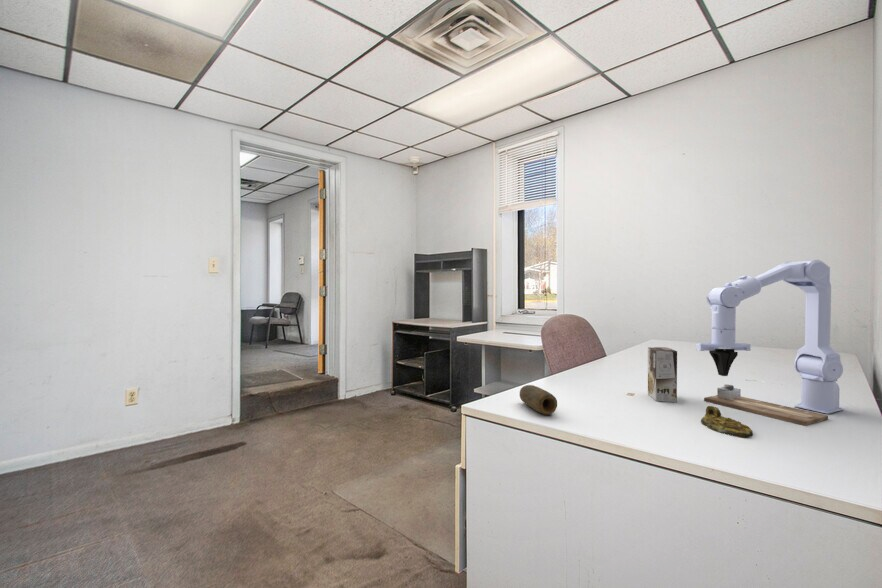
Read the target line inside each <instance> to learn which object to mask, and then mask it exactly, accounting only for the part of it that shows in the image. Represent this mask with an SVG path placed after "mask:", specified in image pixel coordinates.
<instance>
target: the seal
mask: <svg viewBox="0 0 882 588" xmlns="http://www.w3.org/2000/svg"><path fill="white" fill-rule="evenodd" d="M700 422H701V424H702V425H703V426H705V427H706V426H707V427H706V428H708V429H710V430H712V431H714V432H717V433H721V434H724V433H725V435H728V434H729V435H728V436H732V435H733V436H732V437H738V438H749V437H753V430H752V429H751V428H750V427H749V426H748V425H746V424H743V423H742V422H740V421H739V420H738V421H737V420H735V419H732V418H731V417H725V416H722V413H721V410H720V409H719V408H718V407H716V406H713V405H707V406H706V408H705V414H704V416H703V417H702V418H701V419H700Z"/></svg>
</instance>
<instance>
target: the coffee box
mask: <svg viewBox="0 0 882 588" xmlns="http://www.w3.org/2000/svg"><path fill="white" fill-rule="evenodd" d="M647 395H648V396H649V395H650V396H649V397H651V399H653V400H654V401H656V402H666V403H667V402H668V403H669V402H670V403H677V400H678V398H677V397H678V351H677V350H674V349H672V348H670V347H664V346H663V347H662V346H659V347H658V346H657V347H655V346H654V347H647Z"/></svg>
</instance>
